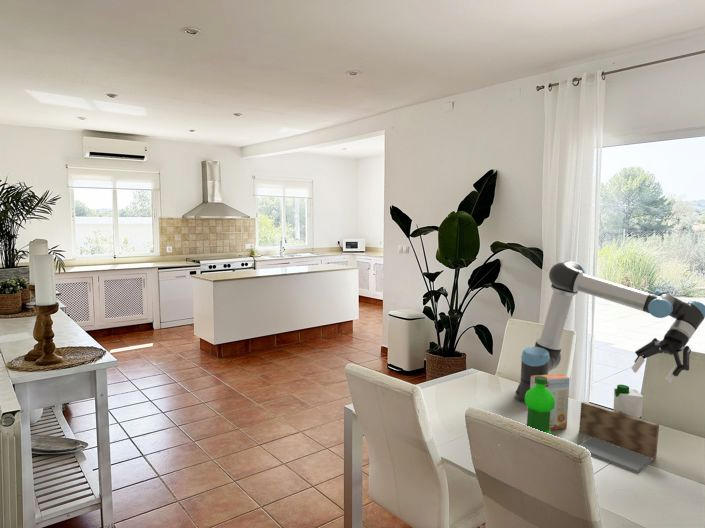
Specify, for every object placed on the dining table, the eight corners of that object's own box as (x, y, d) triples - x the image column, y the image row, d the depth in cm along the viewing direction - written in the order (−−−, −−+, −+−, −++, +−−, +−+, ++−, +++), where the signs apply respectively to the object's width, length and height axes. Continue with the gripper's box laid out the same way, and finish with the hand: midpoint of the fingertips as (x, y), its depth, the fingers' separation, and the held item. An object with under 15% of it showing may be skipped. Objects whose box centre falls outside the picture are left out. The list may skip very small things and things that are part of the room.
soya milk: (608, 431, 185) (612, 381, 184) (633, 433, 184) (637, 384, 182) (616, 441, 177) (620, 389, 175) (642, 444, 175) (647, 392, 173)
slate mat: (576, 449, 169) (576, 446, 169) (592, 439, 178) (592, 437, 178) (637, 473, 154) (637, 470, 154) (651, 461, 162) (651, 458, 162)
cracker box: (557, 422, 192) (560, 372, 190) (567, 429, 186) (570, 377, 184) (526, 425, 189) (530, 374, 187) (536, 431, 183) (539, 379, 181)
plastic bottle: (546, 453, 166) (551, 384, 163) (517, 443, 172) (521, 377, 170) (556, 444, 173) (560, 378, 171) (527, 434, 180) (531, 371, 178)
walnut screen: (579, 432, 184) (581, 402, 183) (581, 430, 185) (583, 401, 184) (654, 458, 164) (657, 425, 163) (656, 457, 165) (659, 424, 164)
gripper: (717, 348, 175) (687, 392, 171) (652, 333, 198) (625, 372, 194) (709, 335, 173) (678, 379, 168) (644, 322, 196) (616, 360, 192)
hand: (649, 375), depth 181 cm, fingers open, 13 cm apart
